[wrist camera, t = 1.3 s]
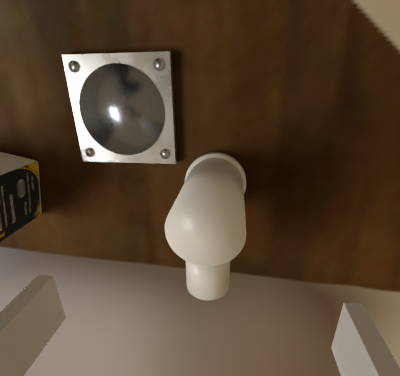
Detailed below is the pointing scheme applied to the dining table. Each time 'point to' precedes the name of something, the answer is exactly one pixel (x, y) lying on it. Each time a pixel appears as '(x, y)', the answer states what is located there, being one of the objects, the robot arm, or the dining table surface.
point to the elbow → (209, 223)
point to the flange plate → (123, 106)
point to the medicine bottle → (18, 193)
